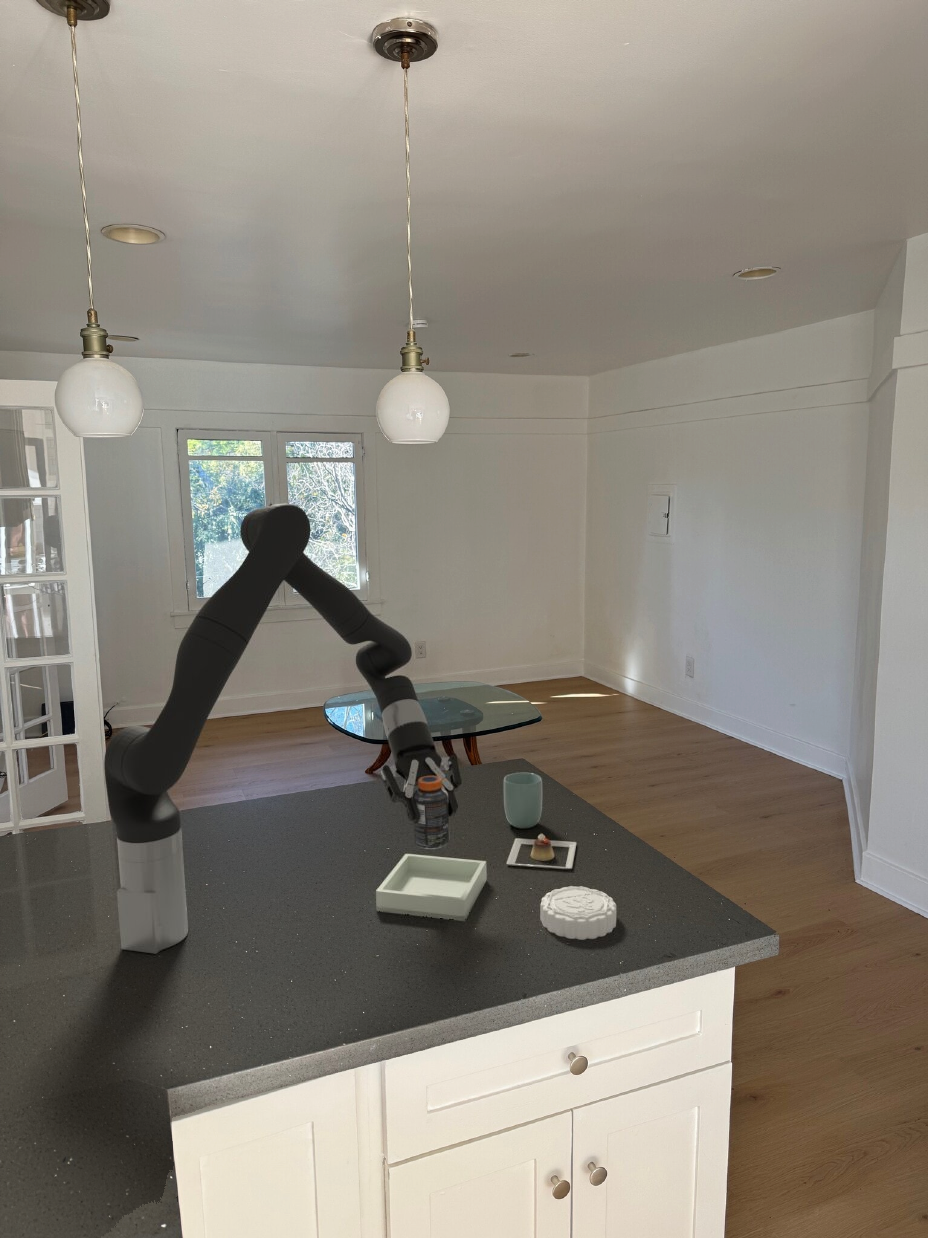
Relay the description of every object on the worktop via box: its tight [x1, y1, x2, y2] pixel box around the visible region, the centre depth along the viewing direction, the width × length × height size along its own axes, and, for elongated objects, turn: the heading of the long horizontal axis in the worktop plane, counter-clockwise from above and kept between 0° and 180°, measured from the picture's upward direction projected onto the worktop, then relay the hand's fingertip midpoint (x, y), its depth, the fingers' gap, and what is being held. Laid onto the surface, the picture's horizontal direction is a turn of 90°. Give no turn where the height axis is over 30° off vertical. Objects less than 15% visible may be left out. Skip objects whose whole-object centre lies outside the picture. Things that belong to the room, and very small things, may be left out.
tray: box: [375, 853, 488, 922], centre depth 141 cm, size 15×15×4 cm
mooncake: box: [539, 885, 617, 941], centre depth 132 cm, size 12×12×4 cm
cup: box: [503, 771, 543, 829], centre depth 171 cm, size 8×8×10 cm
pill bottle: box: [412, 776, 450, 850], centre depth 139 cm, size 6×6×11 cm
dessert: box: [506, 833, 578, 870], centre depth 156 cm, size 12×12×5 cm
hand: (435, 817), depth 138 cm, fingers closed on pill bottle, 6 cm apart
